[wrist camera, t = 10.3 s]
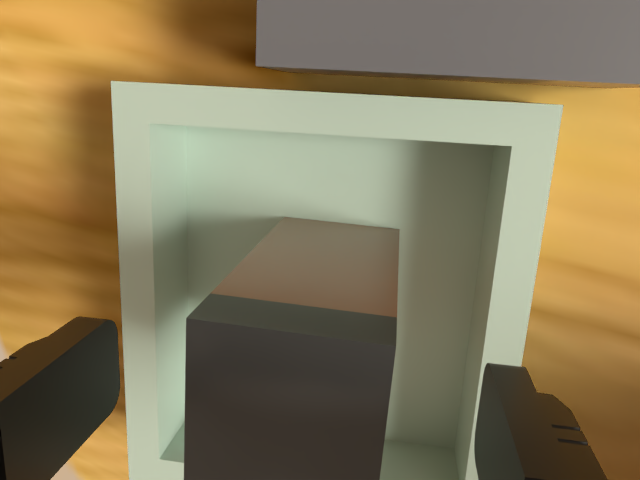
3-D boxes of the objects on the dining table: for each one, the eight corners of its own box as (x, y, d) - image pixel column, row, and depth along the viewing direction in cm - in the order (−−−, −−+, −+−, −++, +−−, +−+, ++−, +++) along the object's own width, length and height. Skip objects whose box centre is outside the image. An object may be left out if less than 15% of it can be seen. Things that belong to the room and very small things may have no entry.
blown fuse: (284, 216, 17) (186, 318, 9) (399, 229, 16) (396, 346, 9) (277, 322, 18) (183, 493, 10) (386, 336, 17) (373, 527, 10)
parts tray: (161, 83, 17) (110, 80, 14) (532, 102, 16) (563, 104, 13) (169, 425, 20) (129, 482, 17) (479, 467, 19) (493, 537, 16)
